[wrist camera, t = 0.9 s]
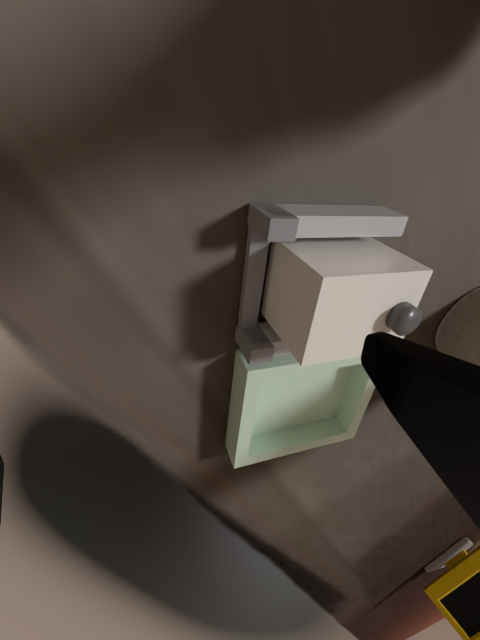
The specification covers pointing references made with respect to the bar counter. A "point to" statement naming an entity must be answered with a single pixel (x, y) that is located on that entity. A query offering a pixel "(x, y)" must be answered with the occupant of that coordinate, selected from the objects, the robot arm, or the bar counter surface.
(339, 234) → the dock
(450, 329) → the thermos bottle
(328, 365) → the tray
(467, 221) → the bar counter surface
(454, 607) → the toy computer monitor
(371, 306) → the cream knobbed cube
